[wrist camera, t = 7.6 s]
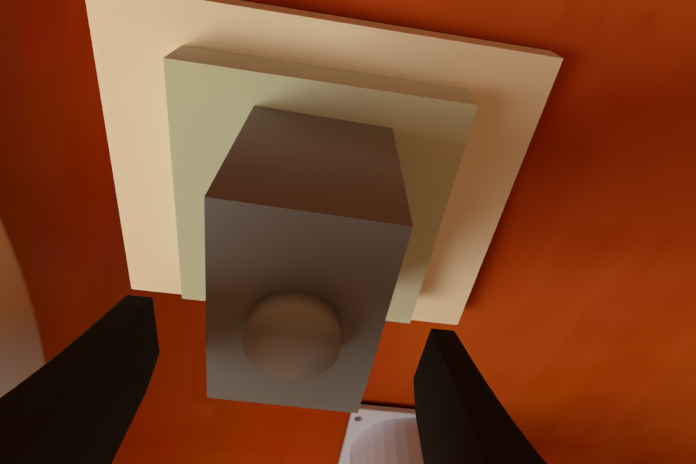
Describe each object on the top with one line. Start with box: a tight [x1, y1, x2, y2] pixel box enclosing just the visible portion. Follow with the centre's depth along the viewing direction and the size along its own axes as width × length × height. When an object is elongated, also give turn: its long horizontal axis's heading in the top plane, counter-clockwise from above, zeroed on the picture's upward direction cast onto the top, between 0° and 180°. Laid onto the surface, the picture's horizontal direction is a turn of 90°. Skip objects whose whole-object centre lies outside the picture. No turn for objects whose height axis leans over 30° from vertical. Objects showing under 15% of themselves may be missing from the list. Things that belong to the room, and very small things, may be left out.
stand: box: [85, 0, 564, 325], centre depth 18 cm, size 13×16×3 cm
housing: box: [204, 106, 413, 413], centre depth 14 cm, size 5×7×7 cm, turn 171°
